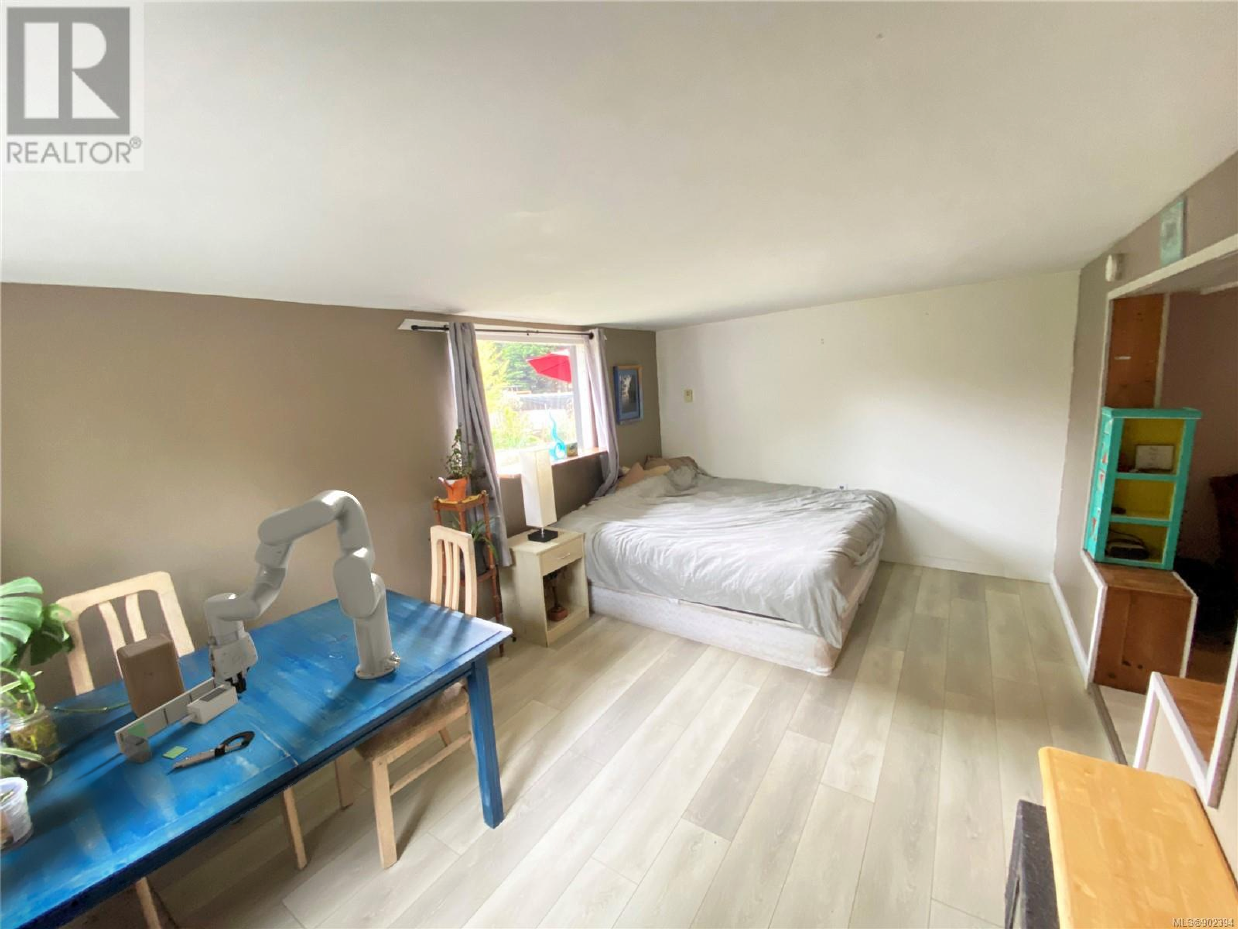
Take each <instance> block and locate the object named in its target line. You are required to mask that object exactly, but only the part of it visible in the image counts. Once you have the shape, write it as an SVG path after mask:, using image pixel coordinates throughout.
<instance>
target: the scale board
mask: <svg viewBox="0 0 1238 929" xmlns="http://www.w3.org/2000/svg"><path fill="white" fill-rule="evenodd" d="M214 679H215V678H213V676H212V677H210V678H209V679H207V680H204V681H203V682H201V683H200V684H198V685H196V686H195V687H193V688H190V689H188V690H186V691H185V693H183V694H182V695H180V696H178V697H176V698H175V699H173V700H171V701H169V702H167V703H166V704H164V705H162V706H160V707H158V708H157V709H155V710H153V711H151V712H149V713H148V714H146V715H144V716H142V717H141V718H137V719H136V720H134V721H131V722H130V723H128V724H126V725H125V726H123V727H121V728H119V729H118V730H115V731H114V736H115V739H116V743H117V745H118V746H117V747H118V748H119V753H120V754H125V752H124V748H123V745H122V741H123V740H122V739H124V738H126V737H128V736H129V735H134V736H138V737H141V738H144V739H146V740H148V739H149V738H151V737H153V736H154V735H156V734H157V733H159V732H161V731H162V730H164V729H166V728H167V727H169V726H171V725H172V724H174V723H176V722H177V721H180V720H182V719H183V718H185V717H187V716H188V715H189V713H188V709H187V705H188V704H190V703H192V702H194V701H195V700H197V699H199V698H200V697H202V696H204V695H205V694H207V693H209V692H211V691H212V690H214V689H216V688H217V687H219V686H221V685H228V686H231V683H230V682H227V681H226V682H224V683H221V684H214Z"/></svg>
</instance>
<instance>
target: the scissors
mask: <svg viewBox="0 0 1238 929" xmlns="http://www.w3.org/2000/svg"><path fill="white" fill-rule="evenodd" d="M254 737H255V731H252V730H246V731H242V732H239V733H235V734H233V735H232V736H230V737H227V738H226V739H224V740H223V741H222V742H221V743H220V744H219V745H217V746H216V747H215V748H211V749H208V750H206V751H202V752H199V753H196V754H193V755H190V756H186V757H184V758H182V760H180V761H177V762H174V763H173V764H172V765H173V766H172V767H173V769H174V770H176V769H178V768H181V767H182V768H186V767H189V766H192V765H194V764H198V763H202V762H204V761H207V760H209V759H213V758H214V757H215V758H216V757H219V756H222V755H225V754H226V753H227V751H230V750H233V749H235V748H238V747H241V746H246V745H248V744H250V743H251V740H253V739H254ZM241 738H244V739H243V741H241V742H238V743H235V744H232V745H230V744H231V743H232V742H233V741H235V740H237V739H241Z"/></svg>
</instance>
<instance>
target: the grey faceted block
mask: <svg viewBox="0 0 1238 929" xmlns="http://www.w3.org/2000/svg"><path fill="white" fill-rule="evenodd" d="M122 740H123V741H122V745H123V748H124V754H125V758H126V760H127V761H128V760H129V761H130V762H131V761H132V762H135V763H137V764H141V765H142V764H145V763H146V762H148V761H149V760H151V759H152V758H153V754H152V751H151V750H152V749H151V746H150V743H149V740H148V739H144V738H141V737H138V736H134V735H129V736H128V737H126V738H124V739H122Z"/></svg>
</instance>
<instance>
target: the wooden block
mask: <svg viewBox="0 0 1238 929" xmlns="http://www.w3.org/2000/svg"><path fill="white" fill-rule="evenodd" d="M115 654H116V656H117V661H118V665H119V667H120V668H119V669H120V672H121V675H122V679H123V683H124V686H125V690H126V693H127V698H128V701H129V705H130V709H131V711H132V712H133V713H134V714H135V716H136V717H137V719H139V718H141V717H142V716H144V715H146V714H148V713H149V712H151V711H153V710H155V709H157V708H158V707H160V706H162V705H164V704H166V703H167V702H169V701H171V700H173V699H175V698H176V697H178V696H180V695H182V694H183V693H185V692H186V688H185V684H184V681H183V676H182V671H181V667H180V663H179V661H178V655H177V650H176V648H175V643H174V641H173V640H172V639H170V638H169V637H168V636H167V635H166V634H164V633H162V632H161V633H157V634H155V635H151V636H149V637H146V638H143V639H140V640H138V641H135V642H134V641H133V642H132V643H129V644H126V645H123V646H121V647H119V648H117V649H116V651H115Z"/></svg>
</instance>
